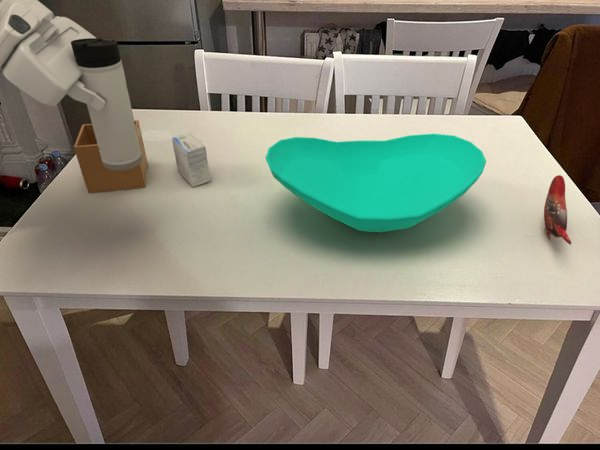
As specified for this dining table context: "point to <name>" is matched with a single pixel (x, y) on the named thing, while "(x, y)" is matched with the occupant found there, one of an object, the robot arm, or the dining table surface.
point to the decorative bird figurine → (556, 210)
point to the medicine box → (191, 159)
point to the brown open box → (99, 175)
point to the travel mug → (109, 102)
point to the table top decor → (377, 177)
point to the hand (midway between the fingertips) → (110, 96)
